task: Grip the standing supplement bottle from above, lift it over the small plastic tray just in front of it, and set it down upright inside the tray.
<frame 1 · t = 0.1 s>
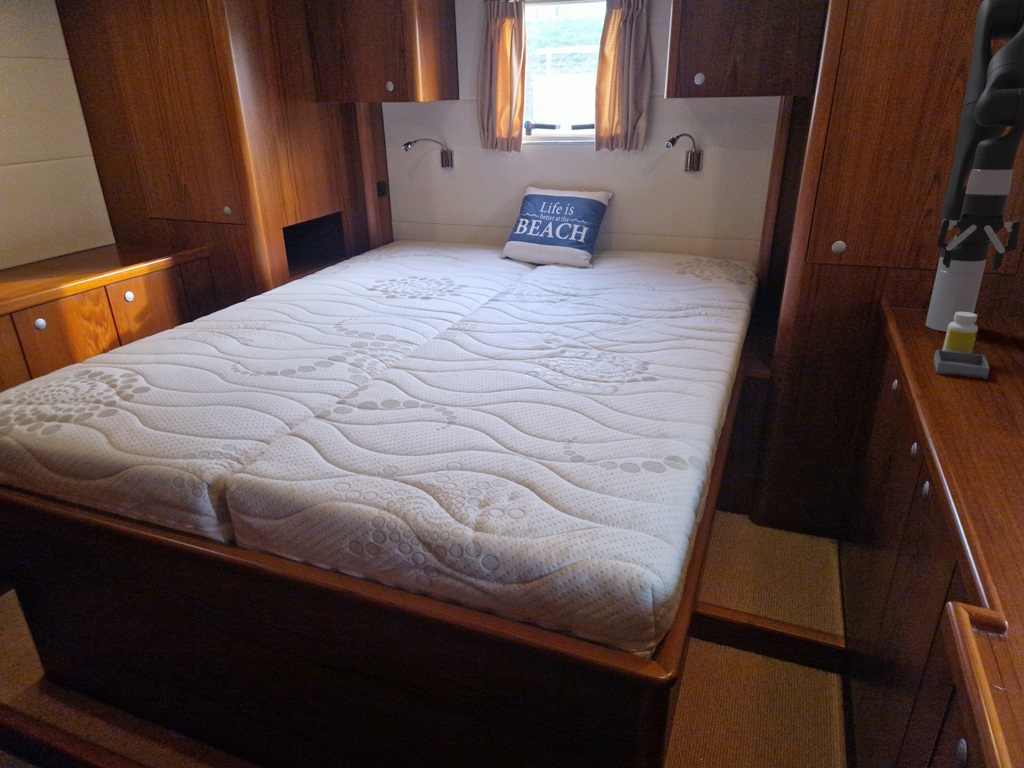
hand: (969, 268, 145), 17 cm above the table, tool pointing down, fingers open, 8 cm apart
tray: (959, 369, 136), on the table
supplement bottle: (955, 358, 143), on the table
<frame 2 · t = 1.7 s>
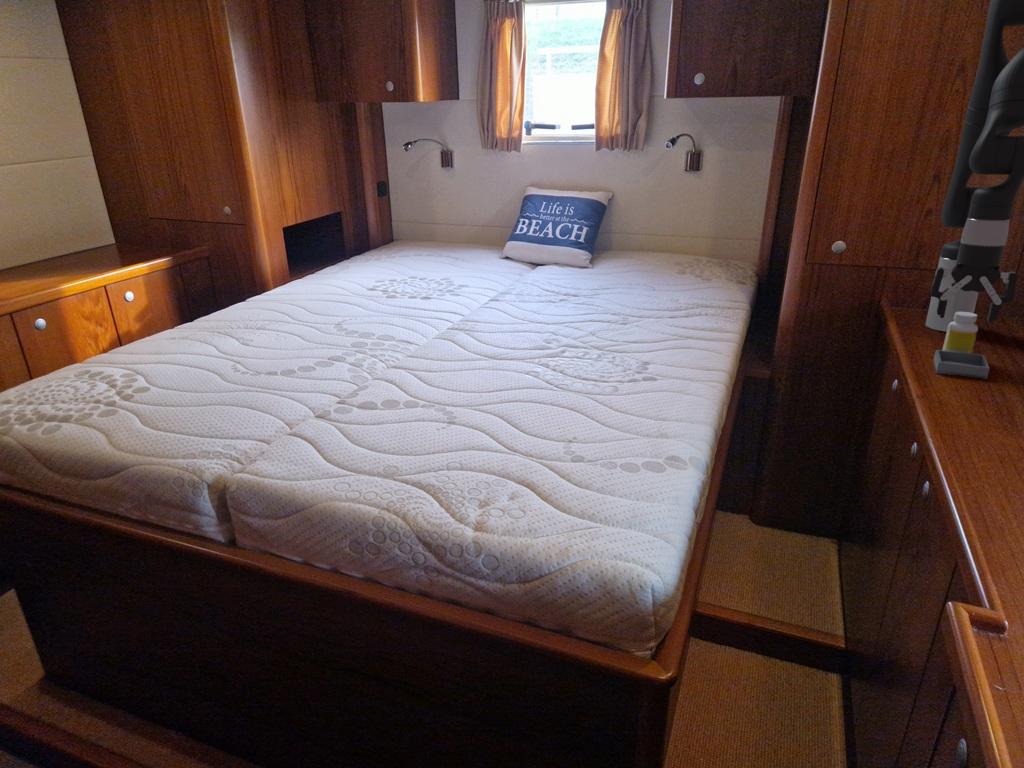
hand: (965, 319, 139), 9 cm above the table, tool pointing down, fingers open, 8 cm apart
nothing on the table moved.
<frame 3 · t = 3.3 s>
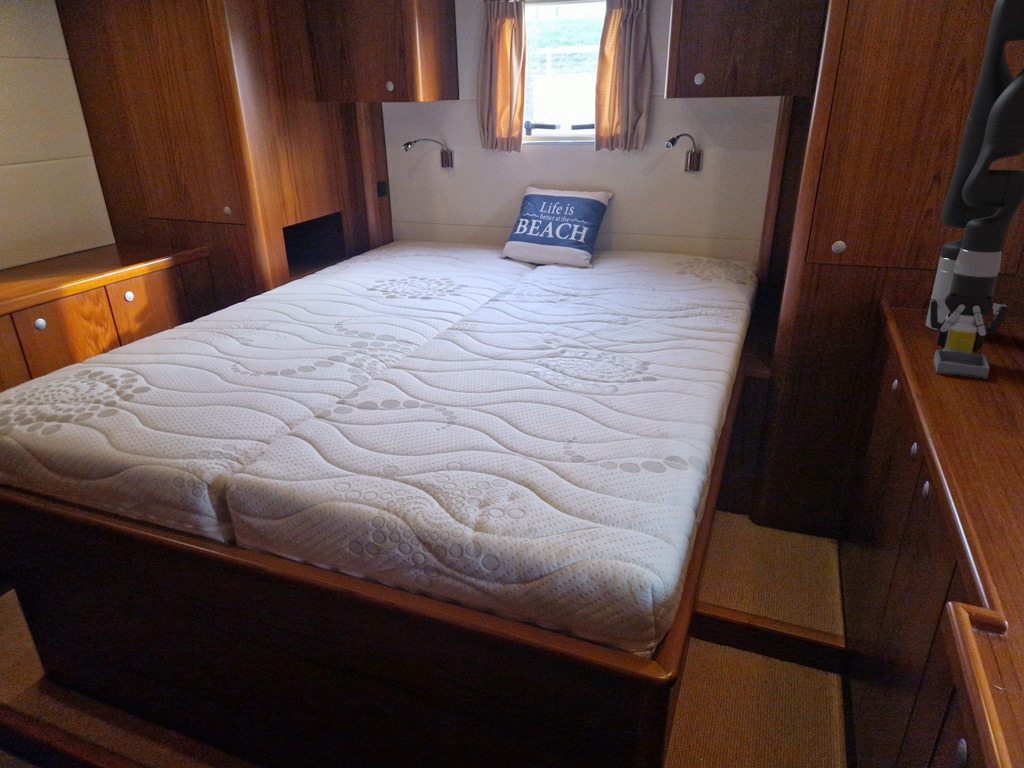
hand: (957, 348, 142), 2 cm above the table, tool pointing down, fingers closed on supplement bottle, 5 cm apart
supplement bottle: (955, 358, 143), on the table, touching gripper
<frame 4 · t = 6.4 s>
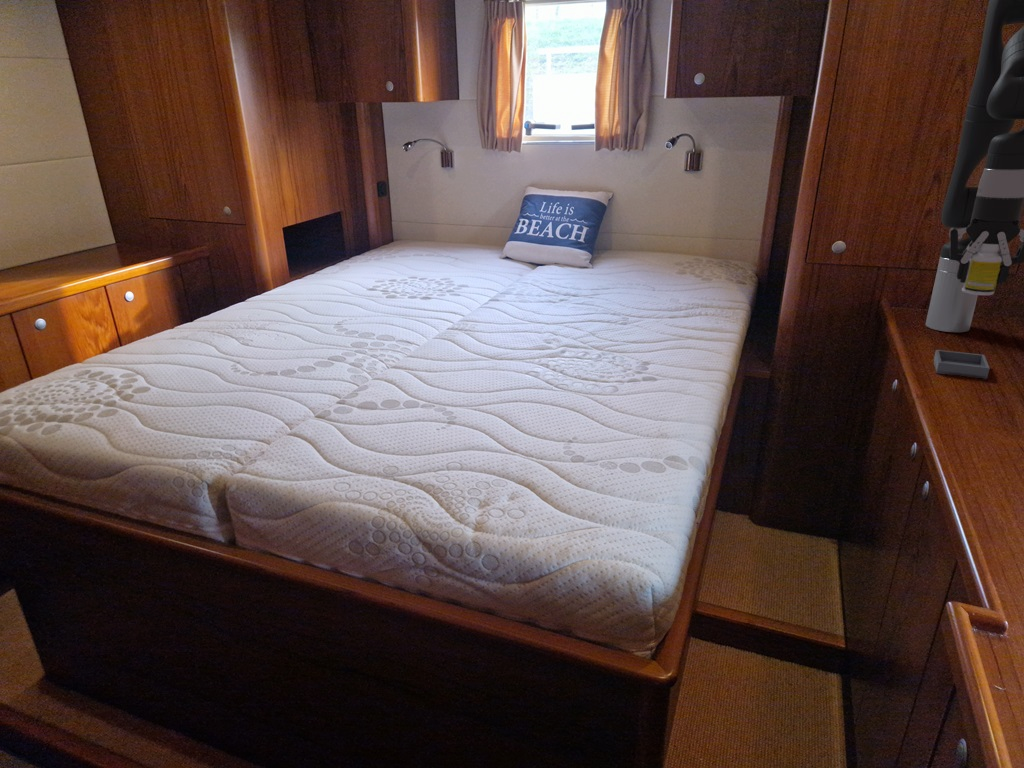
hand: (979, 282, 130), 18 cm above the table, tool pointing down, fingers closed on supplement bottle, 5 cm apart
supplement bottle: (977, 293, 130), point 16 cm above the table, touching gripper
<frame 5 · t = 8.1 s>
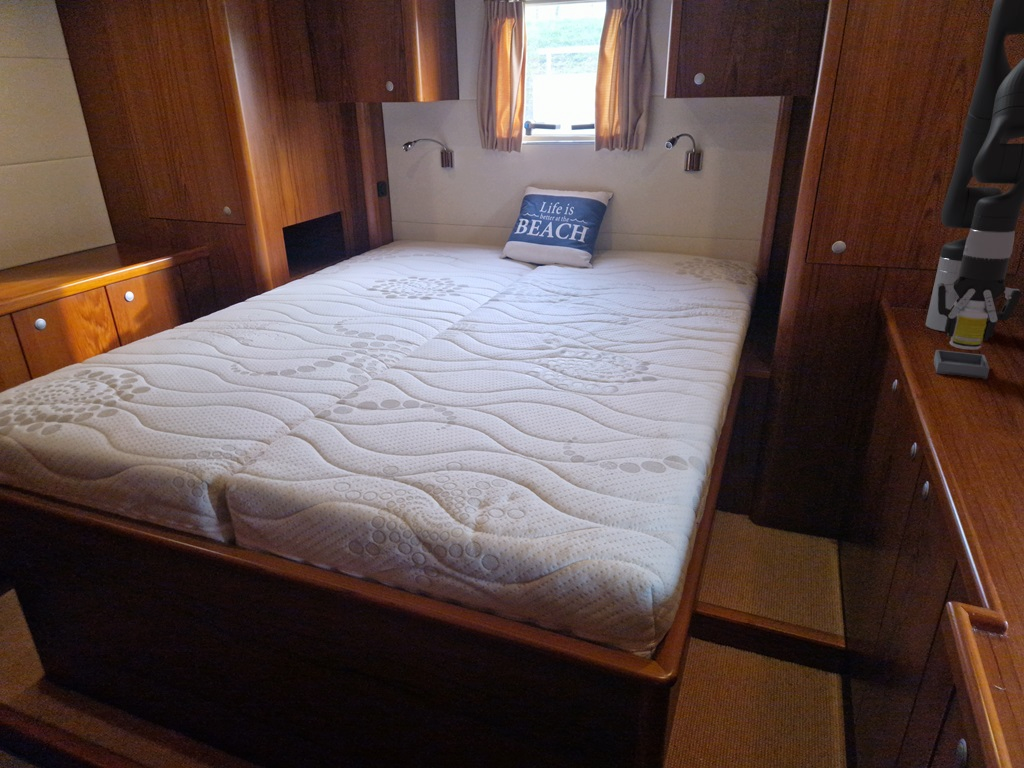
hand: (967, 336, 134), 7 cm above the table, tool pointing down, fingers closed on supplement bottle, 5 cm apart
supplement bottle: (964, 347, 134), point 5 cm above the table, touching gripper
when the fingers open (4 cm above the table, at t = 9.6 s): supplement bottle drops 2 cm, resting on tray.
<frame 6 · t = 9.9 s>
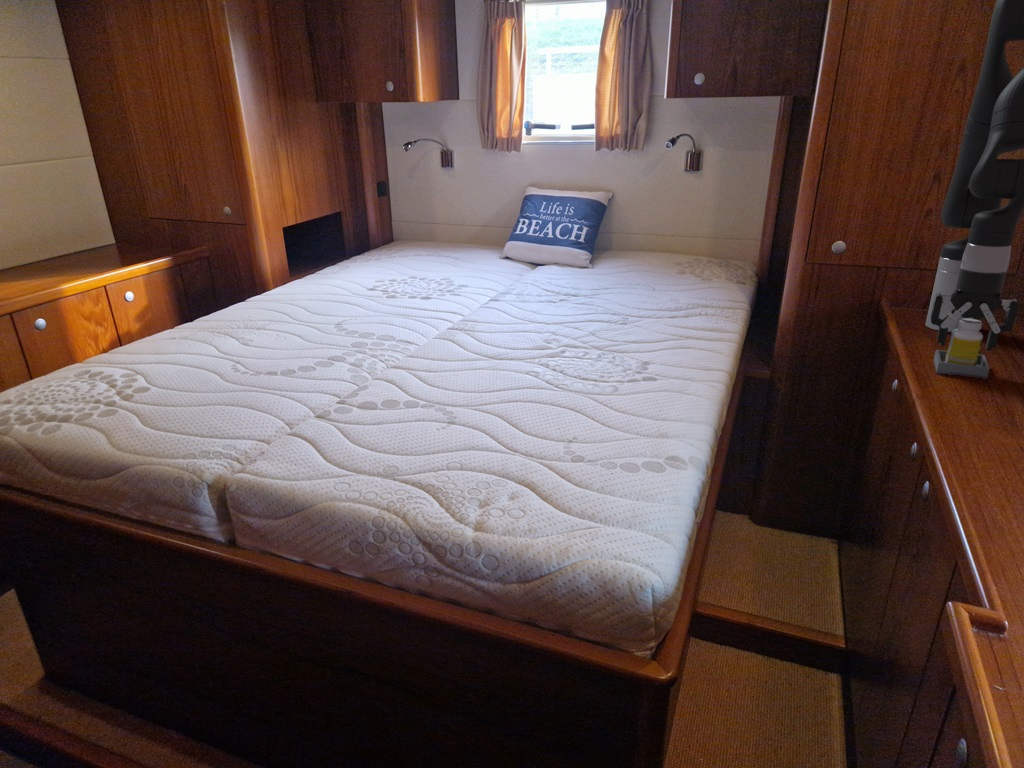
hand: (964, 347, 134), 5 cm above the table, tool pointing down, fingers open, 7 cm apart
supplement bottle: (959, 367, 136), resting on tray
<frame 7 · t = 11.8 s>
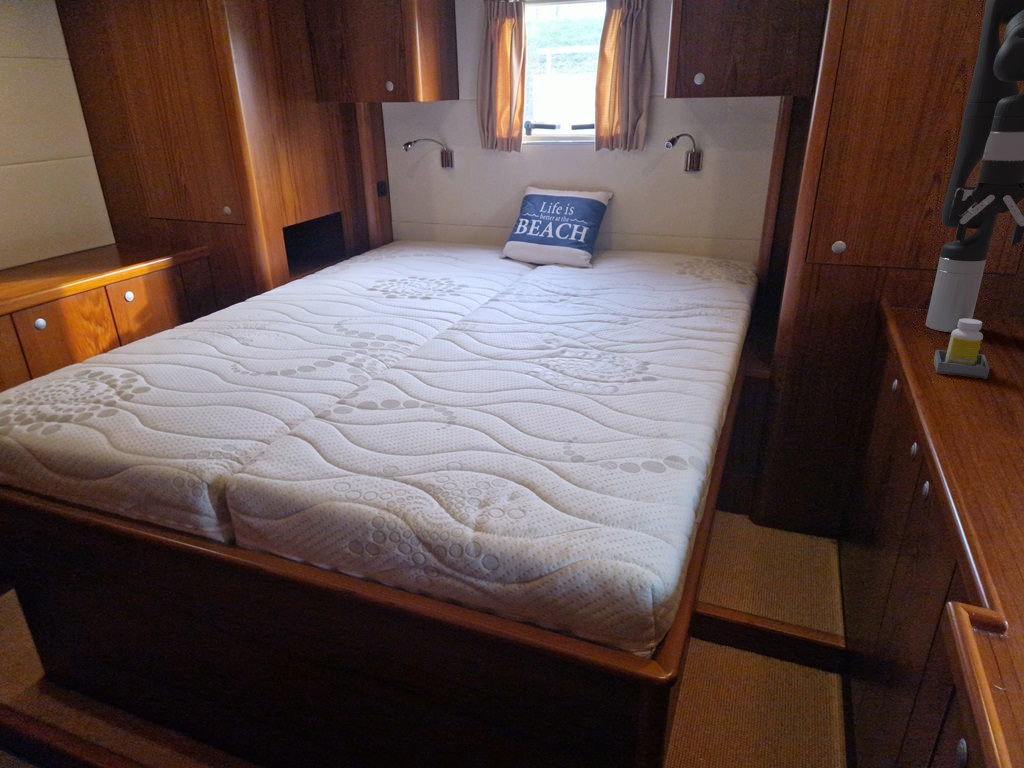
hand: (986, 243, 130), 25 cm above the table, tool pointing down, fingers open, 8 cm apart
nothing on the table moved.
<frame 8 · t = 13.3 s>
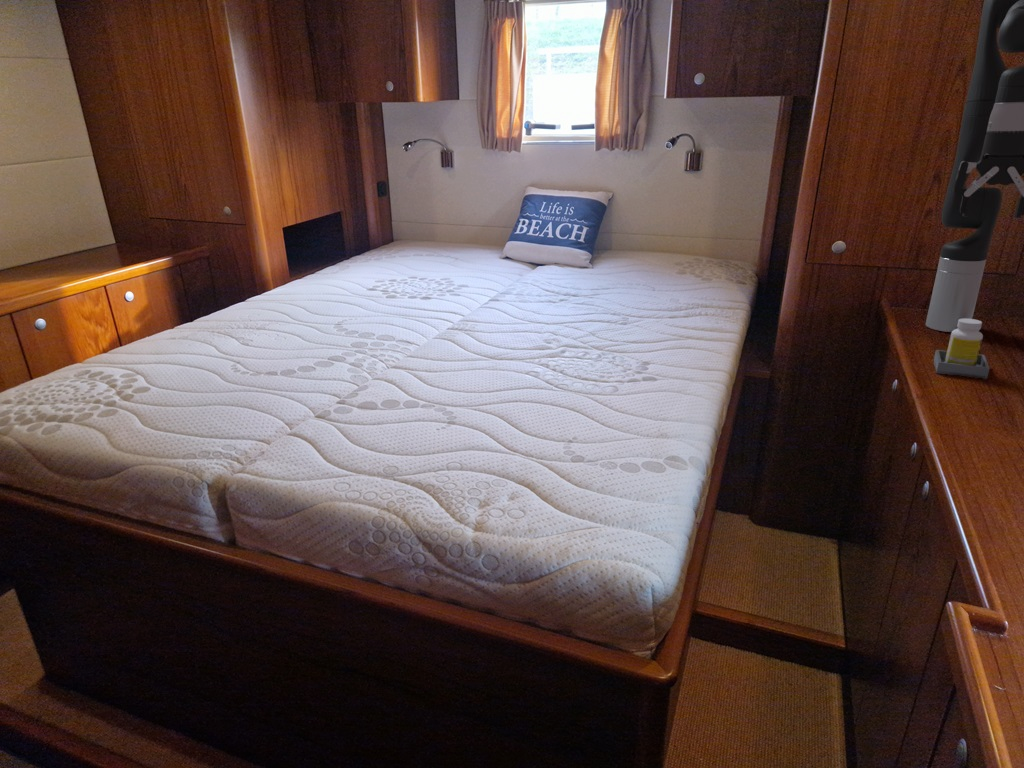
hand: (990, 216, 130), 30 cm above the table, tool pointing down, fingers open, 8 cm apart
nothing on the table moved.
at the end: supplement bottle 0.1 cm off-centre on the tray, point 0.4 cm above the tray's base; supplement bottle tilted 0°; the gripper is holding nothing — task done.
